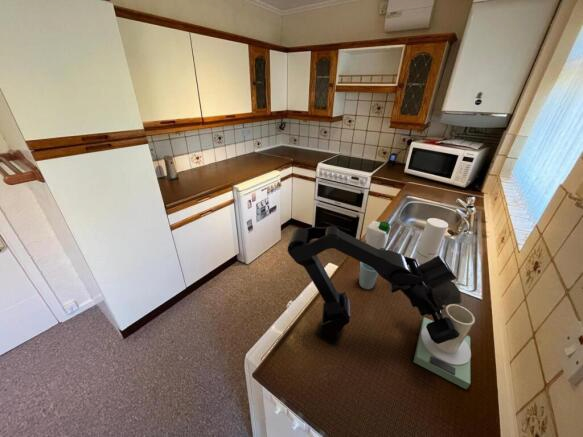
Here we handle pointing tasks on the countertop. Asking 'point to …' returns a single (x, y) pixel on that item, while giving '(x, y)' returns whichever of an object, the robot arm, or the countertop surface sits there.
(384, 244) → the milk carton
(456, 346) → the beaker
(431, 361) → the kitchen scale
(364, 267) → the cup
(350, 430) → the countertop surface
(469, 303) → the countertop surface
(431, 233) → the cylindrical container
